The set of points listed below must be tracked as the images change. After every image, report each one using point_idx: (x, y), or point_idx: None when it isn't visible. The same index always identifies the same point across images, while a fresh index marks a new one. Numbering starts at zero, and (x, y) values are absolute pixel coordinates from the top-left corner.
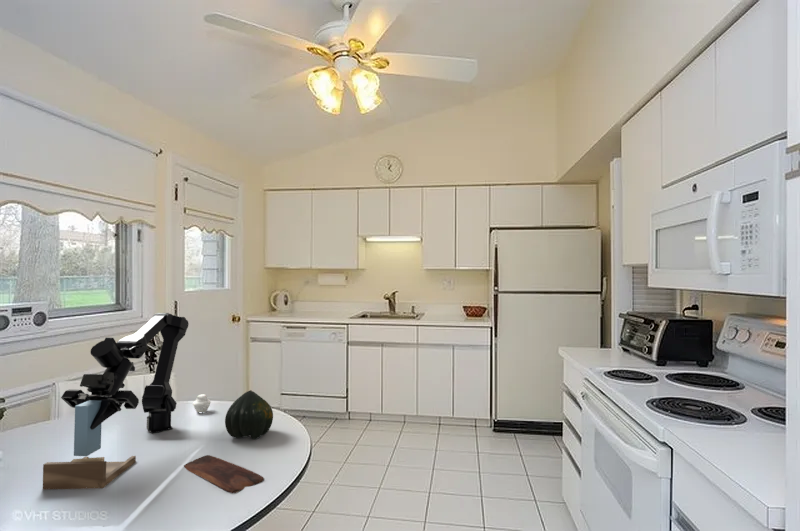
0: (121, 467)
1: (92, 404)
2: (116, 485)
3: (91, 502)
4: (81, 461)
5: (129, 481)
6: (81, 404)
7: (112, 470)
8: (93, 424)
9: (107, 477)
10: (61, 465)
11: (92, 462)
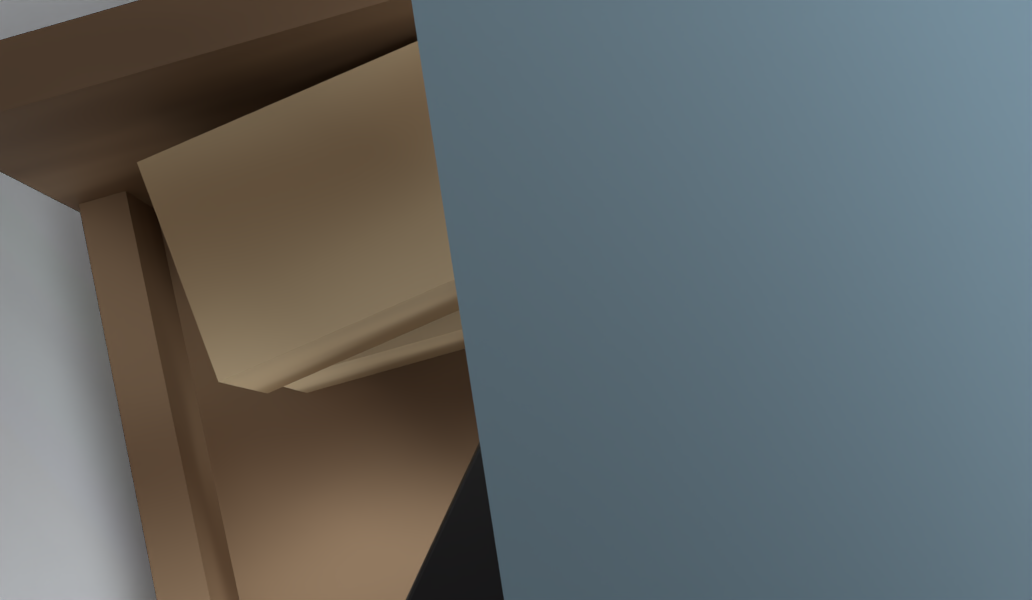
0: (150, 543)
1: (497, 466)
2: (87, 340)
3: (66, 10)
4: (426, 169)
5: (14, 451)
6: None
7: (333, 564)
8: (480, 456)
9: (92, 253)
10: None
11: (92, 47)
